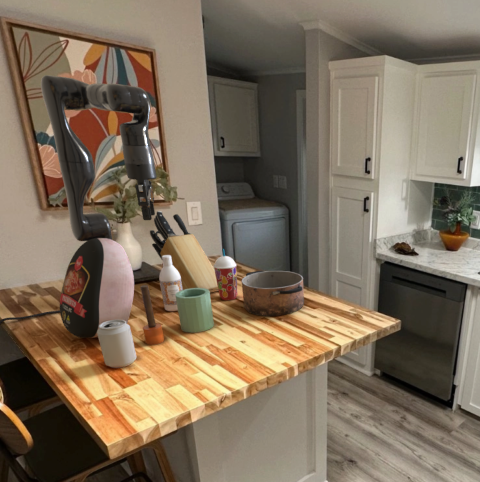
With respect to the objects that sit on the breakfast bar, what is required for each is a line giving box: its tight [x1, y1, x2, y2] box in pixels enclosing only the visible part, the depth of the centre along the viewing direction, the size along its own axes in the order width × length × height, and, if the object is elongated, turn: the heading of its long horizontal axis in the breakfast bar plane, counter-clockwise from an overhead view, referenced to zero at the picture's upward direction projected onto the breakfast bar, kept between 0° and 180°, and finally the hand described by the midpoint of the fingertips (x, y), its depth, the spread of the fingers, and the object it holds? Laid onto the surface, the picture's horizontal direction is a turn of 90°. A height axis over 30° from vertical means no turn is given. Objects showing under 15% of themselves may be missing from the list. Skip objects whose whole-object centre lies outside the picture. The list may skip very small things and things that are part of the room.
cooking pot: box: [241, 270, 305, 317], centre depth 156 cm, size 30×22×11 cm
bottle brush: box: [140, 284, 165, 346], centre depth 123 cm, size 5×5×18 cm
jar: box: [175, 288, 215, 333], centre depth 135 cm, size 10×10×12 cm
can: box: [97, 319, 137, 369], centre depth 111 cm, size 8×8×12 cm
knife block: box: [149, 210, 219, 293], centre depth 170 cm, size 11×35×31 cm, turn 54°
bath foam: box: [158, 255, 183, 312], centre depth 148 cm, size 7×7×20 cm
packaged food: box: [59, 238, 135, 339], centre depth 126 cm, size 22×20×30 cm
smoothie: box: [213, 248, 239, 301], centre depth 160 cm, size 8×8×20 cm
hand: (149, 217), depth 126 cm, fingers open, 8 cm apart
